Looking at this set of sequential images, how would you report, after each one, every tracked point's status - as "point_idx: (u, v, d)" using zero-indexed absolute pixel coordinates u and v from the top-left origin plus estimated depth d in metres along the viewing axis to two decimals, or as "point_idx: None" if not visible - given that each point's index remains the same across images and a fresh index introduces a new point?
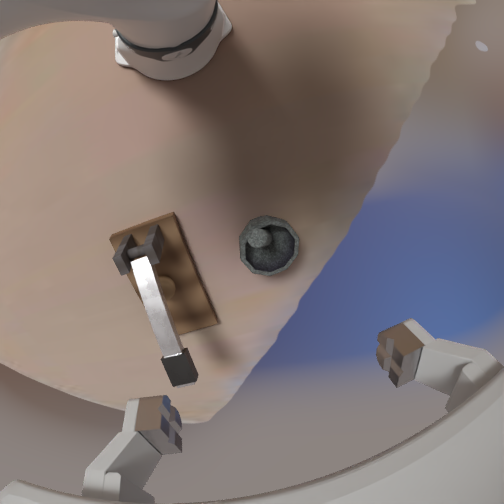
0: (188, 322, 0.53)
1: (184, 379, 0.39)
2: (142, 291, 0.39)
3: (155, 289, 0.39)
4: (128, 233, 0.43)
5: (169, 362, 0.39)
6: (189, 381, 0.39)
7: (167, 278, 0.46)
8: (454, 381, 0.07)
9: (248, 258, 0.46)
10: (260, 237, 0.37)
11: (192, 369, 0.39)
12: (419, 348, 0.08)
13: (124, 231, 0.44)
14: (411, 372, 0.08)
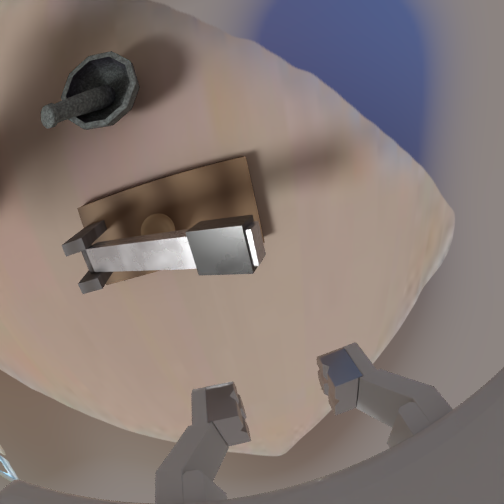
0: (235, 199, 0.36)
1: (237, 248, 0.21)
2: (117, 267, 0.27)
3: (112, 249, 0.27)
4: None
5: (204, 263, 0.23)
6: (241, 239, 0.21)
7: (143, 223, 0.33)
8: None
9: None
10: (43, 113, 0.19)
11: (222, 225, 0.22)
12: (355, 378, 0.07)
13: None
14: (350, 401, 0.08)
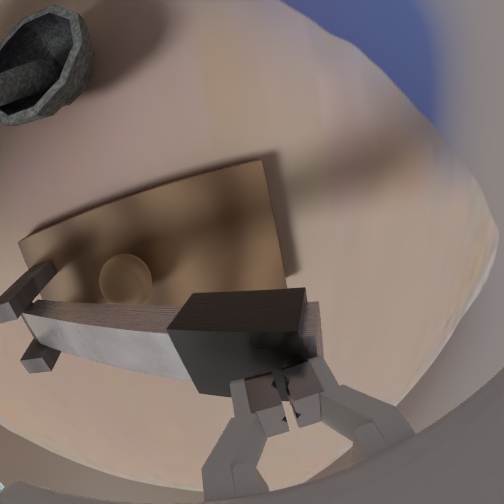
0: (245, 229, 0.23)
1: (282, 367, 0.09)
2: (65, 348, 0.15)
3: (52, 323, 0.14)
4: None
5: (208, 379, 0.11)
6: (293, 354, 0.09)
7: (101, 269, 0.20)
8: None
9: None
10: None
11: (246, 320, 0.10)
12: (316, 394, 0.07)
13: None
14: (314, 415, 0.08)
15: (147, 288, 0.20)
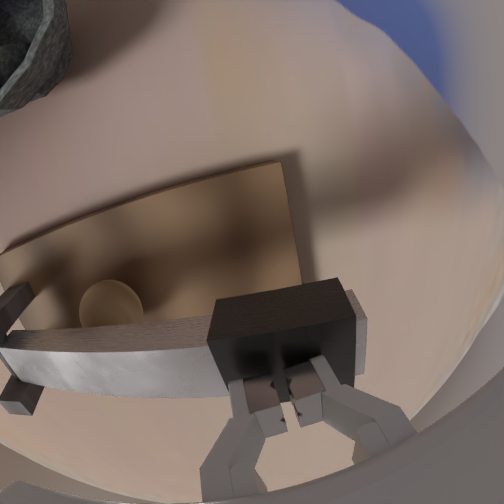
0: (258, 248, 0.19)
1: (335, 357, 0.09)
2: (55, 383, 0.11)
3: (38, 356, 0.11)
4: None
5: None
6: (348, 340, 0.09)
7: None
8: None
9: None
10: None
11: (297, 315, 0.09)
12: (318, 393, 0.07)
13: None
14: (315, 414, 0.08)
15: None
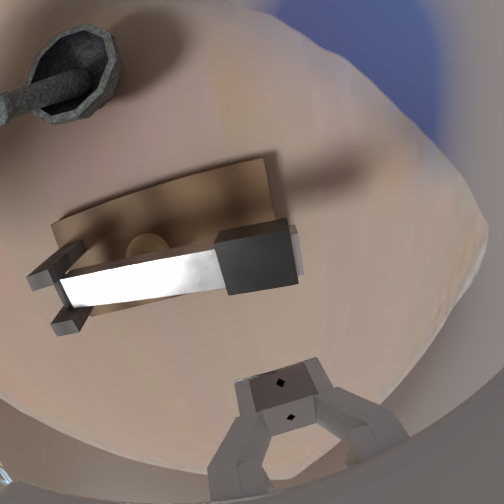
0: (249, 214, 0.28)
1: (282, 256, 0.18)
2: (106, 299, 0.21)
3: (99, 276, 0.20)
4: None
5: (236, 279, 0.19)
6: (287, 245, 0.18)
7: None
8: None
9: None
10: None
11: (260, 231, 0.18)
12: (310, 396, 0.07)
13: None
14: (308, 417, 0.08)
15: None
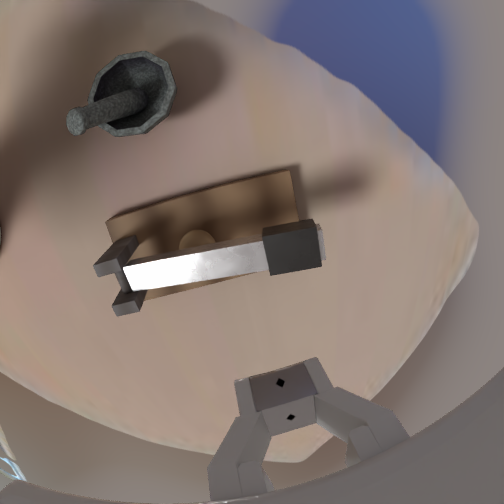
0: (278, 215, 0.35)
1: (311, 246, 0.25)
2: (167, 282, 0.28)
3: (163, 263, 0.27)
4: None
5: (277, 263, 0.26)
6: (315, 238, 0.25)
7: (181, 240, 0.32)
8: None
9: None
10: (70, 118, 0.19)
11: (295, 228, 0.25)
12: (310, 396, 0.07)
13: None
14: (308, 417, 0.08)
15: None
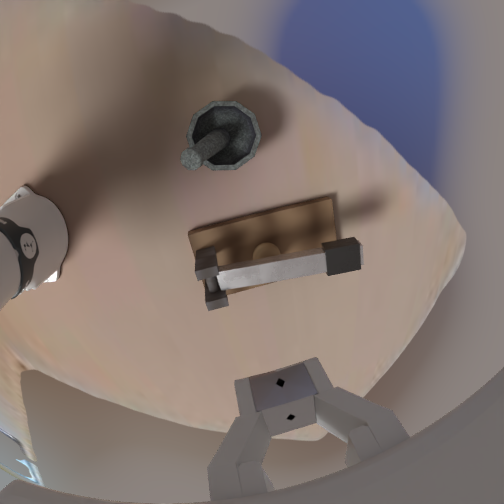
0: (322, 231, 0.46)
1: (355, 256, 0.37)
2: (252, 282, 0.39)
3: (251, 269, 0.38)
4: (204, 280, 0.46)
5: (333, 267, 0.38)
6: (358, 250, 0.36)
7: (255, 250, 0.43)
8: None
9: (239, 158, 0.37)
10: (188, 156, 0.30)
11: (345, 244, 0.37)
12: (310, 396, 0.07)
13: None
14: (308, 417, 0.08)
15: None
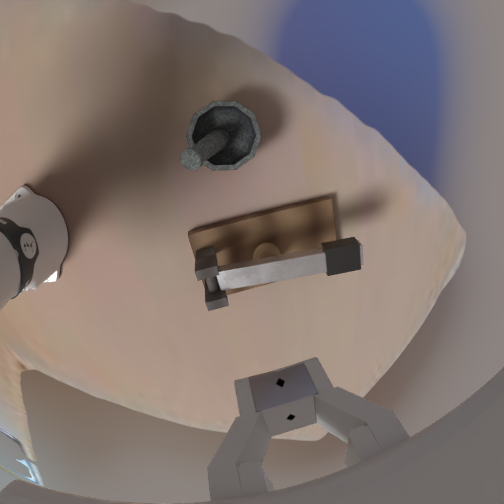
0: (322, 231, 0.46)
1: (355, 256, 0.37)
2: (252, 282, 0.39)
3: (251, 269, 0.38)
4: (204, 280, 0.46)
5: (332, 267, 0.38)
6: (358, 250, 0.36)
7: (255, 250, 0.43)
8: None
9: (239, 158, 0.37)
10: (188, 157, 0.30)
11: (345, 244, 0.37)
12: (310, 396, 0.07)
13: None
14: (308, 417, 0.08)
15: None
